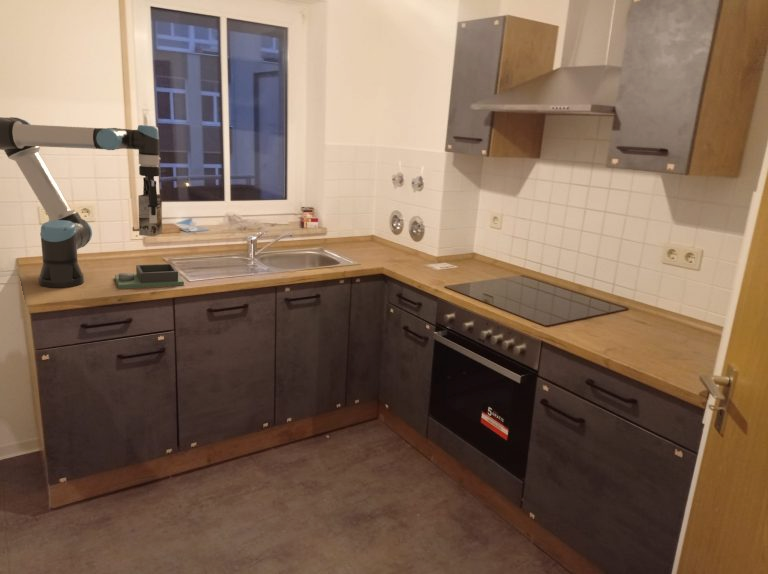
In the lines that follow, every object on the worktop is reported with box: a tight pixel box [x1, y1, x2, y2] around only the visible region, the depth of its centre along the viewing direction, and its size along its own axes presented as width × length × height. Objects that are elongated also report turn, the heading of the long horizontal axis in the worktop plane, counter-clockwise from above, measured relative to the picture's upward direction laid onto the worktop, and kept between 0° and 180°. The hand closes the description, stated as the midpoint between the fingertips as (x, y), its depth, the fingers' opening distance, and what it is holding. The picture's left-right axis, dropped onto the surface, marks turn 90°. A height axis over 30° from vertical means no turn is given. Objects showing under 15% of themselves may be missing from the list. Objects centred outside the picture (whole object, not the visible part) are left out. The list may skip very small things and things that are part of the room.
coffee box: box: [137, 193, 163, 237], centre depth 232 cm, size 9×6×16 cm
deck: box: [114, 263, 185, 290], centre depth 232 cm, size 24×16×6 cm, turn 119°
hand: (150, 220), depth 233 cm, fingers closed on coffee box, 10 cm apart
